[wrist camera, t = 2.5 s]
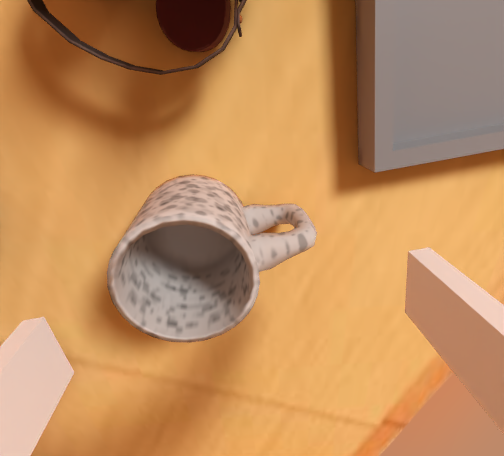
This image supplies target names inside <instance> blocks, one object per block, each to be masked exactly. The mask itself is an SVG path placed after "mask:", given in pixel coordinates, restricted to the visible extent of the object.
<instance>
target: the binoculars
mask: <svg viewBox="0 0 504 456" xmlns="http://www.w3.org/2000/svg"><path fill="white" fill-rule="evenodd" d="M27 1H28V2H29V4H30V6H31V8H32V9H33V11H34V12H35V13H36V14H38V15H39V16H40V17H41V18H42V19H43V20H44V21H46V22H47V23H48V24H49V25H50V26H51V27H52V28H53V29H55V30H56V31H57V32H58V33H59V34H60V35H61V36H62V37H64V38H65V39H66V40H67V41H68V42H69V43H71V44H73V45H75V46H77V47H79V48H81V49H83V50H85V51H86V52H88V53H90V54H92V55H94V56H96V57H98V58H100V59H102V60H105V61H107V62H110V63H113V64H116V65H118V66H121V67H124V68H127V69H130V70H136V71H142V72H148V73H154V74H160V75H161V74H167V73H172V72H178V71H183V70H189V69H194V68H199V67H200V66H202V65H203V64H205V63H206V62H208V61H209V60H211V59H212V58H214V57H215V56H217V55H218V54H220V53H221V52H222V51H224V50H225V48H226V46H227V45H228V43H229V41H230V40H231V38H232V36H233V34H234V33H235V31H236V29H237V28H238V33H239V37H241V36H242V33H241V27H240V23H241V22H242V16H241V15H240V12H241V10H242V8H243V6H244V5H245V3H246V1H247V0H239V2H241V3H240V5H239V7H238V9H237V5H238V0H235V8H234V26H233V28H232V30H231V32H230V33H229V35H228V37H227V39H226V40H225V42H224V44H223V46H222V47H221V48H220V49H218V50H217V51H216V52H214V53H213V54H211V55H210V56H208V57H207V58H205V59H204V60H202V61H201V62H199V63H198V64H196V65H194V66H189V67H183V68H178V69H172V70H167V71H163V70H157V69H151V68H145V67H139V66H135V65H132V64H129V63H126V62H124V61H121V60H118V59H116V58H113V57H110V56H108V55H106V54H105V53H103V52H101V51H99V50H97V49H95V48H93V47H92V46H90V45H88V44H86V43H84V42H82V41H80V40H79V39H78V38H77V37H76V36H75V35H74V34H73V33H72V32H71V31H69V30H68V29H67V28H66V27H65V26H64V25H63V24H62V23H61V22H59V21H58V20H57V19H56V18H55V17H54V16H53V15H52V14H51V13H49V11H48V10H47V8H46V6H45V4H44V2H43V1H42V0H27ZM230 10H231V6H230V0H156V12H157V18H158V21H159V24H160V27H161V29H162V31H163V33H164V34H165V35H166V37H167V38H168V39H169V40H170V41H171V42H172V43H173V44H174V45H176V46H177V47H179V48H181V49H183V50H187V51H193V52H204V51H208V50H210V49H212V48H214V47H216V46H217V45H218V44H219V43H220V42H221V41H222V39H223V38H224V36H225V34H226V32H227V29H228V26H229V21H230Z"/></svg>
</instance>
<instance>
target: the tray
mask: <svg viewBox="0 0 504 456" xmlns="http://www.w3.org/2000/svg"><path fill="white" fill-rule="evenodd" d="M356 52H357V107H358V162H359V164H360V165H361V166H363V167H365V168H367V169H369V170H371V171H373V172H380V171H386V170H391V169H397V168H402V167H408V166H413V165H418V164H424V163H429V162H435V161H440V160H446V159H451V158H457V157H462V156H467V155H473V154H478V153H484V152H489V151H495V150H500V149H504V0H356Z"/></svg>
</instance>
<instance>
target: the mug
mask: <svg viewBox="0 0 504 456" xmlns="http://www.w3.org/2000/svg"><path fill="white" fill-rule="evenodd" d="M279 224H291V225H293V226H294V228H295V229H293V230H291V231H289V232H282V233H261V232H263V231H265V230H267V229H269V228H271V227H273V226H276V225H279ZM258 233H259V234H258ZM254 234H255V235H254ZM316 234H317V232H316V229H315V226H314V225H313V223H312V221H311V220H310V218H309V217H308V215H307V214H306V213H305V211H304V210H303V209H302V208H300V207H299V206H297V205H295V204H280V205H257V204H252V205H248V206H244V207H243V205H242V202H241V201H240V199H239V198H238V197H237V195H236V194H235V193H234V192H233V191H232V190H231V189H230V188H229V187H228V186H226V185H225V184H223V183H222V182H220V181H218V180H216V179H213V178H210V177H207V176H201V175H185V176H178V177H176V178H173V179H170V180H168V181H166V182H164V183H163V184H161V185H160V186H158V187H157V188H156V189H155V190H154V191H153V192H152V193H151V194H150V196H149V197H148V199H147V200H146V202H145V203H144V205H143V206H142V208H141V210H140V211H139V213H138V214H137V216H136V217H135V219H134V220H133V222H132V223H131V225H130V227H129V228H128V230H127V231H126V233H125V234H124V236H123V237H122V239H121V241H120V242H119V244H118V245H117V247H116V248H115V250H114V251H113V254H112V256H111V258H110V261H109V265H108V270H107V285H108V290H109V293H110V296H111V299H112V302H113V304H114V305H115V306H116V308H117V309H118V311H119V312H120V314H121V315H122V316H123V317H124V318H125V319H126V320H127V321H128V322H129V323H130V324H131V325H132V326H134V327H135V328H137V329H138V330H140V331H142V332H143V333H145V334H148V335H150V336H152V337H155V338H158V339H161V340H166V341H171V342H196V341H203V340H208V339H211V338H213V337H216V336H219V335H222V334H224V333H225V332H227V331H229V330H230V329H232V328H234V327H235V326H236V325H237V324H239V323H240V322H241V321H242V320H243V319H244V318H245V317H246V316H247V314H248V313H249V312H250V310H251V309H252V307H253V305H254V303H255V300H256V298H257V295H258V290H259V284H260V280H259V272H260V271H264V270H268V269H271V268H273V267H275V266H276V265H278V264H280V263H282V262H283V261H285V260H287V259H289V258H291V257H293V256H295V255H297V254H299V253H301V252H304V251H306V250H308V249H309V248H311V247H313V246H314V243H315V239H316Z"/></svg>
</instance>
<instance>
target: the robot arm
mask: <svg viewBox="0 0 504 456" xmlns="http://www.w3.org/2000/svg"><path fill="white" fill-rule="evenodd" d="M405 313H406V314H407V315H408V317H409V318H410V319H411V320H412V321H413V323H414V324H415V325H416V326H417V328H418V329H419V330H420V331H421V333H422V334H423V335H424V336H425V338H426V339H427V340H428V341H429V342H430V344H431V345H432V346H433V347H434V349H435V350H436V351H437V352H438V354H439V355H440V356H441V357H442V359H443V360H444V361H445V362H446V364H447V365H448V366H449V367H450V368H451V370H452V371H453V372H454V373H455V374H456V376H457V377H458V378H459V380H460V381H461V382H462V383H463V385H465V387H466V388H467V389H468V391H469V392H470V393H471V394H472V396H473V397H474V398H475V399H476V401H477V402H478V403H479V404H480V406H481V407H482V408H483V409H484V411H486V413H487V414H488V415H489V417H490V418H491V419H492V420H493V422H494V423H495V424H496V425H497V427H498V428H499V429H500V430H501V432H502V433H503V434H504V305H503V304H501V303H500V302H499V301H498V300H496V299H495V298H494V297H492V296H491V295H490V294H489V293H487V292H486V291H485V290H483V289H482V288H481V287H480V286H478V285H477V284H476V283H474V282H473V281H472V280H471V279H469V278H468V277H467V276H465V275H464V274H463V273H462V272H460V271H459V270H458V269H456V268H455V267H454V266H453V265H451V264H450V263H449V262H447V261H446V260H445V259H443V258H442V257H441V256H440V255H438V254H437V253H436V252H434V251H433V250H432V249H431V248H423V249H418V250H412V251H408V264H407V282H406V301H405ZM73 374H74V371H73V369H72V367H71V365H70V363H69V361H68V360H67V358H66V356H65V354H64V352H63V350H62V349H61V347H60V345H59V343H58V341H57V340H56V338H55V336H54V334H53V332H52V330H51V329H50V327H49V325H48V323H47V321H46V319H45V318H44V317H41V318H35V319H30V320H24V321H22V322H21V323H20V324H19V326H18V327H17V328H16V329H15V330H14V331H13V332H12V334H11V335H10V336H9V337H8V338H7V339H6V341H5V342H4V343H3V344H2V345H1V346H0V456H31V454H32V452H33V450H34V448H35V446H36V444H37V442H38V441H39V439H40V437H41V435H42V433H43V431H44V429H45V427H46V425H47V423H48V422H49V420H50V418H51V416H52V414H53V412H54V410H55V408H56V406H57V404H58V403H59V401H60V399H61V397H62V395H63V393H64V391H65V389H66V387H67V385H68V384H69V382H70V380H71V378H72V376H73Z"/></svg>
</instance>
